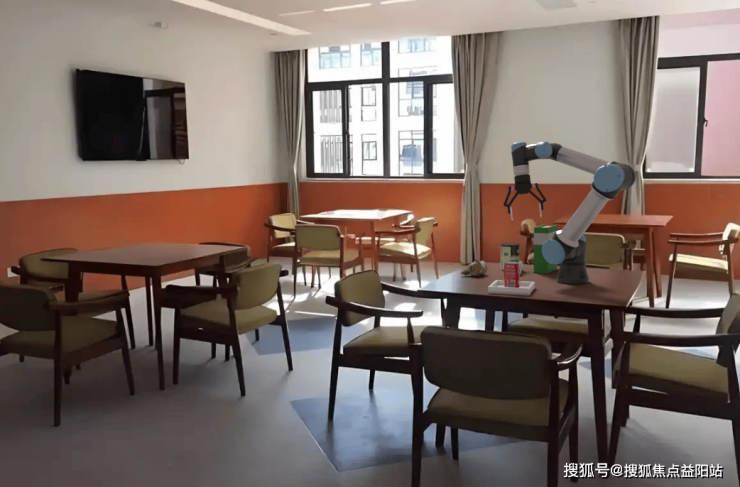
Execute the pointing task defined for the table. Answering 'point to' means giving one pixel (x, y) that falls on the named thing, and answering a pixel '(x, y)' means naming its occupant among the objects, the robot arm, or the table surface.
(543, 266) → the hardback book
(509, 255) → the coffee can
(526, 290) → the tray
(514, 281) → the soda can
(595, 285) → the table surface
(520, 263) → the elephant figurine
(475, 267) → the ceramic sculpture
